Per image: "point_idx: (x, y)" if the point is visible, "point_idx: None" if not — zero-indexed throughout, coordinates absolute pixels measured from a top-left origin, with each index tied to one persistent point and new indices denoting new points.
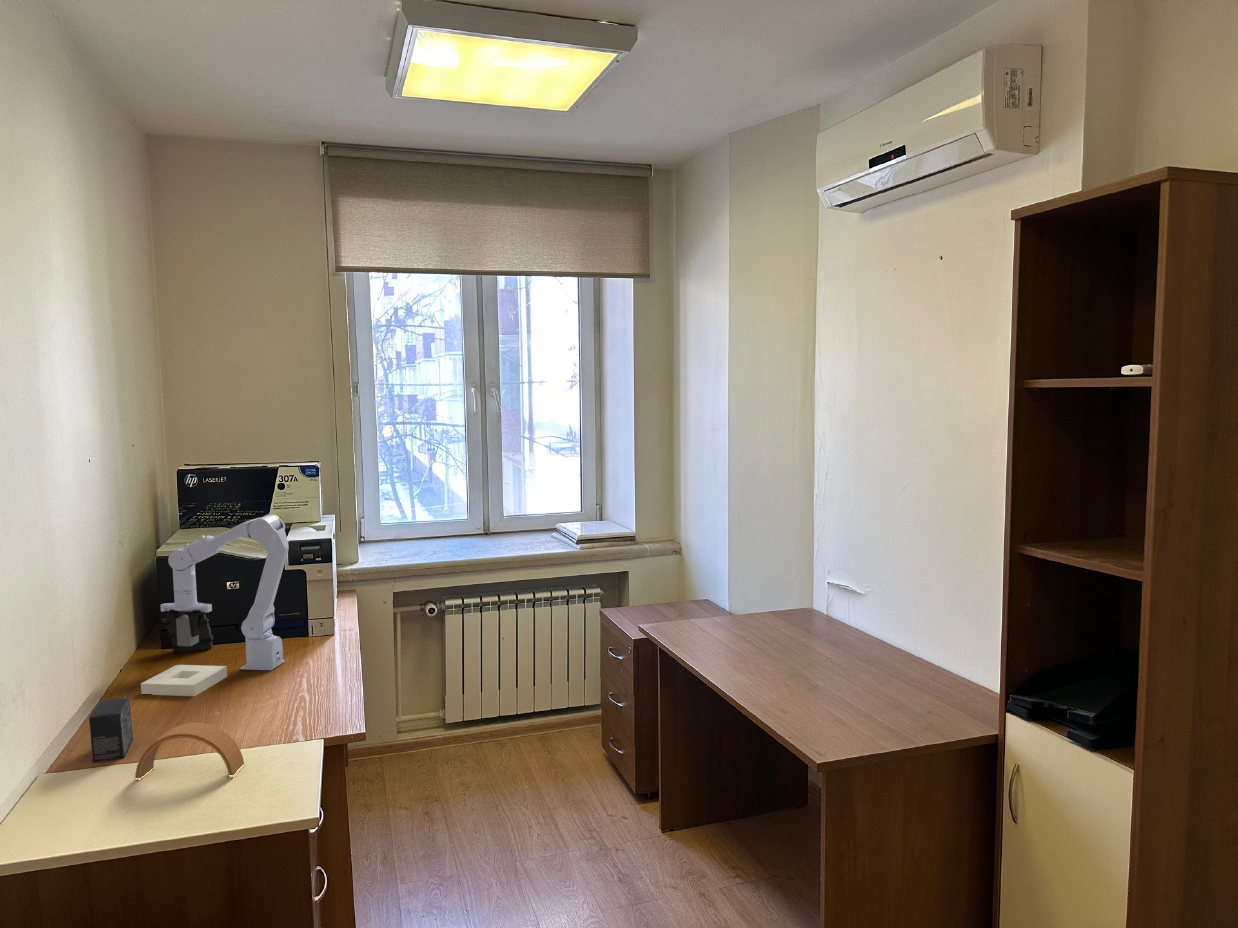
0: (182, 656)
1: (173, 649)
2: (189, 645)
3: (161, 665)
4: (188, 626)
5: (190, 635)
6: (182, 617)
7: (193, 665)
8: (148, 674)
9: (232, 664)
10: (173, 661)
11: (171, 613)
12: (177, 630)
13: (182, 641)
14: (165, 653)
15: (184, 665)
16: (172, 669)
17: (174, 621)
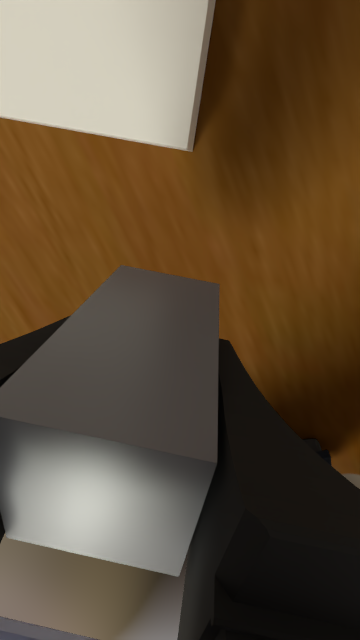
0: (268, 400)
1: (319, 448)
2: (127, 268)
3: (322, 308)
4: (59, 343)
5: (90, 300)
6: (144, 499)
7: (72, 122)
8: (353, 175)
9: (20, 285)
10: (284, 351)
11: (336, 612)
12: (208, 344)
13: (174, 288)
14: (346, 438)
15: (129, 127)
16: (167, 27)
17: (245, 430)
